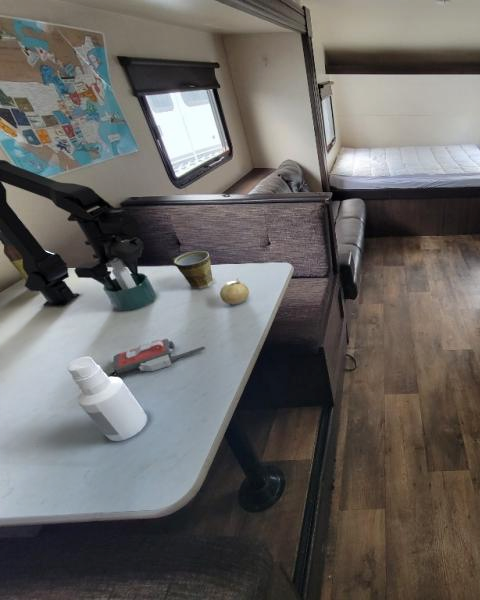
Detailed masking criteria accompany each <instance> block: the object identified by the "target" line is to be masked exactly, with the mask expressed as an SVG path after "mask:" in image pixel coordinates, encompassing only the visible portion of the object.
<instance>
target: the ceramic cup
mask: <svg viewBox="0 0 480 600" xmlns="http://www.w3.org/2000/svg"><path fill="white" fill-rule="evenodd" d="M171 263H172V265H174V266H175V267H176V268H177V269H178V271H179V273H181V275H183V277H184V278H185V280H186V282H187V283H188V284H189V285H190V287H191V289H194V290H202V289H206V288H209V287H210V286H212V285H213V284H214V279H213V274H212V265H211V264H212V263H211V257H210V254H209V252H207V251H203V250H195V251H189V252H186V253H182V254H180V255H178V256H177V257H173V258H171Z"/></svg>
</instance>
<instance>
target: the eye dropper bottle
mask: <svg viewBox="0 0 480 600" xmlns="http://www.w3.org/2000/svg"><path fill="white" fill-rule="evenodd" d="M109 264H110V266H111V267H112V269H111V270H112V271H111V273H112V274H113V276H114V279H115V278H116V280H117V281H118V283H119V285H120V287H121V288H122V290H126V289H129V288H132V287H135V286H136V284H135V282H134V280H133V278H132V276H131V275H130V274H131V272H130V270H129V269H128V268H127V267H126V266H124V264H123V262H122V260H121V259H118V258H117V259H115V260H114V261H112V262H111V263H109Z"/></svg>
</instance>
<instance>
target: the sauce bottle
mask: <svg viewBox="0 0 480 600" xmlns="http://www.w3.org/2000/svg"><path fill="white" fill-rule="evenodd" d="M0 243H1V244H2V245H3V254H4V256H6V258H7V259H8V260H9V262H10V263H11V265H12V266H13V267H14V268H15V270H16V271H17V272H18V273H19V275H20V276H21V277H22V278H23V279H24V281H25V282H26V281H27V278H28V275H27V274H26V272H25V271H24V269H23V259H22V256H21V255H20V254H19V252H18V251H17V250H16V249H15V248H14V246H13V245H12V244H11V243H10V242H9V240H8V239H7V238H6V237H5V236H4V234H3V233H2V232H1V231H0Z"/></svg>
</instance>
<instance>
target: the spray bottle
mask: <svg viewBox="0 0 480 600" xmlns="http://www.w3.org/2000/svg"><path fill="white" fill-rule="evenodd" d="M66 369H67V371H68V372H69V374H70V375H71V377H72V380H73V381H74V383H75V384H76V385H77V386H78V388H79V390H80V393H79V394H78V396H77V403H78V405H79V406H80V407H81V408H82V410H83V411H84V412H85V413H86V415H88V417H89V418H90V419H91V420H92V421H93V422H94V423H95V425H96V426H97V427H98V428H99V429H100V430H101V432H102V433H103V434H104V435H105V437H107V439H109V440H110V441H111V442H112V441H113V442H122V441H125V440H128V439H130V438H132V437H134V436H135V435H137V434H138V433H140V432H141V431H142V430H143V428H145V426H146V424H147V422H148V415H147V413H146V412H145V411H144V409H143V408H142V406H141V405H140V404H139V402H138V401H137V399H136V398H135V397H134V395H133V393H132V392H131V390H130V389H129V388H128V387H127V385H126V384H125V382H124V381H123V380H122V378H121V377H110V376H109V375H107V374H106V373H105V372H104V371H103V369H102V367H101V366H100V364H99V365H98V364H97V363H96V362H95V361H94V359H93V358H92V357H90V356H82V357H78V358H77V359H74V360H72V361H71V362H70V363H69V364H68V365H67V367H66Z"/></svg>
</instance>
